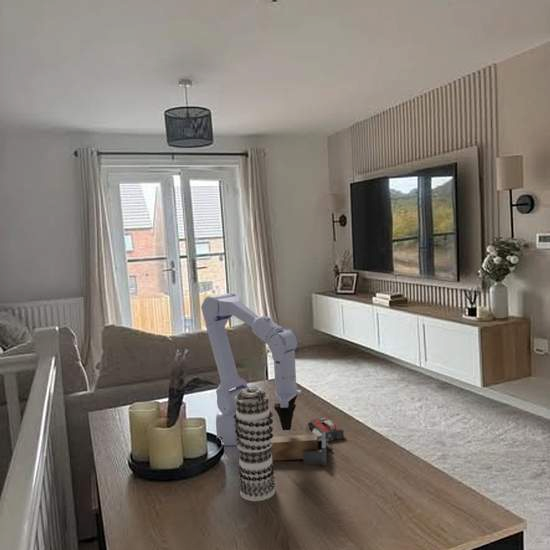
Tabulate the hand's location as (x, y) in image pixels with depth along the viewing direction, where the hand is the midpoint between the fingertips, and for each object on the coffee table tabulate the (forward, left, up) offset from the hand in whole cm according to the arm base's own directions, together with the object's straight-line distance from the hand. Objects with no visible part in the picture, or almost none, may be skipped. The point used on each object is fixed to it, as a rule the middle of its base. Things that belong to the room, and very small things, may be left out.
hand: (287, 424), depth 139 cm
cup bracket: (+7, 0, -9) cm, 12 cm away
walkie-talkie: (+11, +13, -10) cm, 20 cm away
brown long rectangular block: (0, 0, -9) cm, 9 cm away
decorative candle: (-6, -18, -10) cm, 22 cm away
